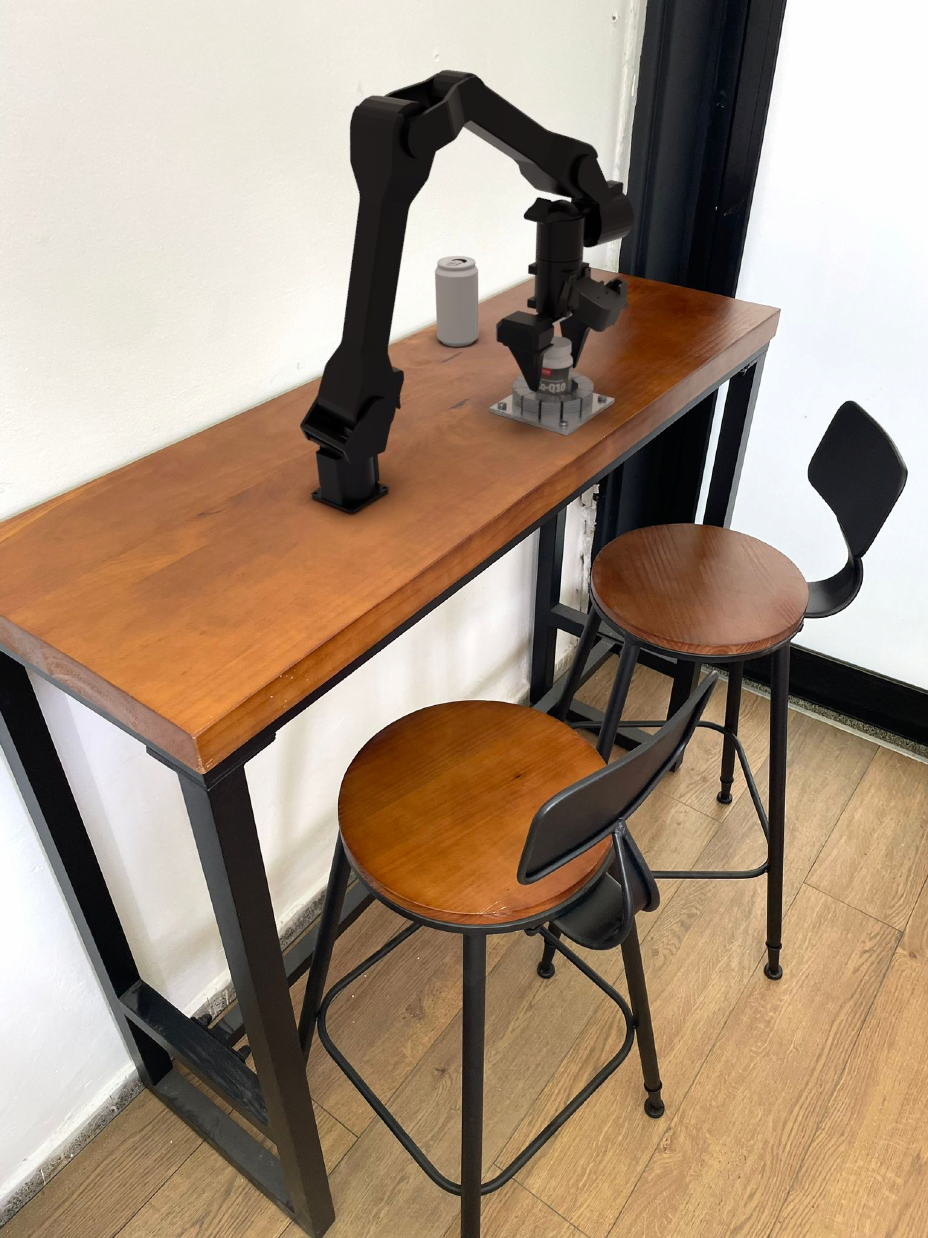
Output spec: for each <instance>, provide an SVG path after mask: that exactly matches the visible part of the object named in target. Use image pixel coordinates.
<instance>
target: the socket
mask: <svg viewBox="0 0 928 1238" xmlns="http://www.w3.org/2000/svg"><path fill="white" fill-rule="evenodd" d="M512 384H513V385H512V394H510V395H509V396H506V397H505V398H503V399H502V400H500V401H498V402H496V403H495V404H493V405H491V406H490V407H489V411H488V412H489V413H491V414H493V415H494V414H495V415H497V416H501V417H505V418H507V419H511V420H515V421H517V422H520V423H523V424H527V425H530V426H533V427H537V428H541V429H544V430H546V431H550V432H553V433H557V434H560V435H563V436H568V435H570V434H571V433H573V432H574V431H576V430H577V429H578V428H579V427H581V426H582V425H584V424H586V423H588V422H589V421H590V420H591V419H593V418H595V417H596V416H597V415H599V414H600V413H601V412H603V411H605V410H606V409H607V408H609V407H611V406H612V405H614V404H615V398H613V397H610V396H607V395H605V394H598V393H594V387H595V385H594V382H593V381H592V380H591V379H589V378H588V377H587V376H586V375H583V374H582V373H578V372H574V371H572V382H571V394H566V395H561V396H548V395H542V394H539V393H535V392H534V391H531V390H530V389H529V387H528V385H527V383H526V381H525V379H524V376H523V374H521V375H520V376H518V377H516V378H514V380H513V383H512ZM604 409H605V410H604Z"/></svg>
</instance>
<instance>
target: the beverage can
mask: <svg viewBox="0 0 928 1238" xmlns="http://www.w3.org/2000/svg"><path fill="white" fill-rule="evenodd" d="M436 263H437V266H436V268H435V270H434V282H435V283H434V284H435V308H436V309H435V311H436V334H437V339H438V340H439V342H442V343H443V345H445V346H447V347H452V348H453V347H457V348H460V347H466V346H469V345H471V344H472V343H474V341H476V340H477V339H479V329H480V328H479V269H478V267H477V265H476V259H474V258H472V257H470V256H464V255H451V256H445V257H441V258H439V259H438V260H437V262H436Z"/></svg>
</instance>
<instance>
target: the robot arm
mask: <svg viewBox="0 0 928 1238" xmlns="http://www.w3.org/2000/svg"><path fill="white" fill-rule="evenodd" d="M463 128H464V129H466V130H468V131H469V132H471V133H472V134H473V135H475V136H477V137H478V138H480V139H481V140H483V141H484V142H485V143H487V144H489V145H491V146H492V147H494V148H495V149H496V150H498V151H500V153H503V154H504V155H506V156H508V157H509V158H510V159H512V160H513V161H514V162H515V163H516V164H517V166H518V168H519V170H518V171H519V174H520V175H522V177H523V178H525V180H526V181H527V182H528V183H529V184H530V185H531V186H532V187H533V188H534V189H535V190H537V191H540V192H543V193H544V192H545V193H548V194H552V195H556V196H560V197H564V198H569V199H570V200H568V199H567V200H566V199H562V198H561V199H556V200H551V199H549V198H544V197H540V196H537V197H536V198H535V201H534V202H533V204H531V206H529V207H528V208H527V210H526V211H524V213H523V218H524V220H526V221H530V222H534V223H536V230H535V231H536V232H535V261H534V262H531V263H529V264H528V265H527V267H528V268H527V274H528V275H533V276H534V287H533V288H534V293H533V296H531V297H529V298H527V300H526V307H527V308H528V309H534V310H535V313H536V314H534V313H529V312H526V311H525V312H524V311H522V310H521V311H520V310H516V311H514V312H512V313H511V314H509V315H507V316H505V317H503V318H501V319H500V320H499V321H498V322H497V323H496V324H495V340H496V342H497V343H501V344H502V345H503V346H504V347H507V348H508V349H509V351H510V354H511V355H512V357H514V360H515V362H516V364H517V365H518V368H519V371H521V375H523V376H524V379H525V381H526V383H527V385H528V387H529V389H530V390H531V391H534V392H537V391H538V390H539V385H540V380H541V373H542V366H543V358H544V354H545V353H546V352H547V351H548V350H549V349H550V348H552V347H553V346H554V344H552V343H551V341H552V339H553V337H555V325H556V324H558V323H559V329H560V332H561V333H560V334H561V337H564V338H567V339H569V340H570V341H571V354H570V355H571V356H572V359H573V367H572V370H573V369H576V368H577V365H578V363H579V360H580V358H581V355H582V352H583V349H584V346H585V344H586V341H587V339H588V337H589V333H590V332H591V330H592V331H593V332H597V333H602V332H605V331H606V329H608V328H609V327H612V326H615V325H616V323H617V321H618V319H619V316H620V315H621V312H622V311H623V310H625V309H626V308H628V305H629V303H628V299H629V296H628V281H627V280H625V279H623V278H622V277H620V276H616V277H614V278H613V279H610V280H609V281H608V282H607V283H605V281H604V280H600V281H597V280H595V279H593V278H592V267H591V266H590V262H586V261H584V248H586V249H588V248H589V249H590V248H594V247H597V246H601V245H603V244H606V243H610V242H614V241H617V240H620V239H623V238H624V237H626V236H627V235H629V233H630V232H631V230H632V228H633V226H634V221H635V212H634V211H633V206H632V203H631V201H630V199H629V197H628V196H627V195H626V194H625V193H624V192H623V191H624V183H623V181H617V180H613V179H608V180H606V178H605V175H604V173H603V170H602V167H601V166H600V164H599V161H598V158H599V154H598V153H599V152H598V151H597V149H596V148H595V147H594V146H593V145H592V144H591V143H589V142H585V141H583V140H580V139H577V138H574V137H572V136H568V135H564V134H561V133H557V132H554V131H552V130H548V129H547V128H545V127H544V126H543V125H542V124H540V123H538V122H537V121H536V120H534V119H533V118H532V117H530V116H529V115H527V114H526V113H525V112H524V111H522V110H521V109H519V108H518V107H517V106H515V105H514V104H512V103H511V102H510V101H508V100H507V99H506V98H504V97H503V96H502V95H500V94H498V93H497V92H496V91H494V90H493V89H492V88H490V87H489V86H488V85H487V84H485V82H484V81H483V80H482V78H480V77H479V76H478V75H477V74H475V73H473V72H467V71H461V70H460V71H459V70H451V69H443V70H441V71H439V72H437V73H434V74H433V75H432V76H429V77H428V78H426V79H425V80H422V81H419V82H416V83H413V84H410V85H407V86H403V87H401V88H398V89H395V90H393V91H390V92H388V93H387V94H384V95H370V96H368V97H365V98H364V99H363V100H362V101H361V102H360V103H359V104H358V105H356V106H354V109H353V111H352V114H351V117H350V122H349V162H350V166H351V170H352V172H353V176H354V179H355V183H356V187H357V190H358V193H359V199H358V201H359V202H358V209H357V219H356V223H355V224H356V226H355V232H354V240H353V249H352V255H351V256H352V258H351V264H350V273H349V280H348V286H347V295H346V304H345V311H344V319H343V328H342V335H341V340H340V343H339V345H338V346H337V348H336V349H335V351H334V352H333V353H332V355H331V356H330V357H329V359H328V360H327V362H326V363H325V365H324V370H323V373H322V376H321V379H320V384H319V389H318V392H317V395H316V397H315V399H314V401H313V402H312V404H311V406H310V408H308V411H307V412H306V414H305V416H304V418H303V419H302V421H301V422H300V425H299V428H300V429H301V431H302V433H303V435H304V438H305V439H306V441H309V442H313V443H314V444H316V445H318V446H319V449H318V450H316V451H315V457H316V458H315V460H316V467H317V474H318V475H317V476H318V482H319V488H317V489H316V490H314V491H312V492H311V493H310V495H311V498H312V499H314V500H317V501H318V502H322V503H323V504H326V505H328V506H331V507H333V508H336V509H338V510H341V511H343V512H346V513H348V514H355V513H358V511H360V510H361V509H364V508H365V507H366V506H368V505H370V504H371V503H373V502H374V501H376V500H378V499H379V498H381V497H383V496H384V495H386V494H388V492H390V489H389V486H388V485H385V484H382V483H380V482H379V481H380V479H381V478H380V469H379V467H380V466H379V455H380V454H383V453H385V452H386V449H387V444H388V440H389V436H390V430H391V427H392V423H393V421H394V420H395V419H394V418H395V415H396V412H397V410H401V408H402V406H401V393H402V389H403V385H404V382H405V373H404V370H403V369H400V368H398V367H396V366H393V365H392V362H391V358H390V354H389V343H390V338H391V332H392V331H391V330H392V325H393V318H394V313H395V312H394V311H395V306H396V304H395V303H396V299H397V291H398V285H399V279H400V271H401V265H402V259H403V252H404V245H405V240H406V239H405V238H406V232H407V231H406V230H407V226H408V225H407V224H408V219H409V218H408V217H409V212H410V207H411V205H412V203H413V202H414V200H415V198H416V197H417V196H418V195H419V193H420V192H421V190H422V189H423V187H424V186H425V185H426V183H427V181H428V180H429V178H430V174H431V171H432V168H433V164H434V160H435V156H436V153H437V152H438V151H440V150H441V149H443V148H444V147H446V146H447V145H449V144H451V143H453V142H454V141H455V140H456V139H457V138H458V136H459V134H460V133H461V132H462V130H463Z"/></svg>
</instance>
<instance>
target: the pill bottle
mask: <svg viewBox="0 0 928 1238" xmlns="http://www.w3.org/2000/svg"><path fill="white" fill-rule="evenodd" d="M551 343H552V344H554V346H553V347H552V348H550V349H549V350H548V351H547V352H546V353H545V354H544V358H543V366H542V373H541V380H540V385H539V390H538V391H537V392H535V393H539V394H542V395H548V396H561V395H566V394H571V382H572V372H573V368H572V367H573V359H572V356H571V355H570V354H571V341H570V340H569V339H567V338H564V337H562V336H553V339H552V341H551Z"/></svg>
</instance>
